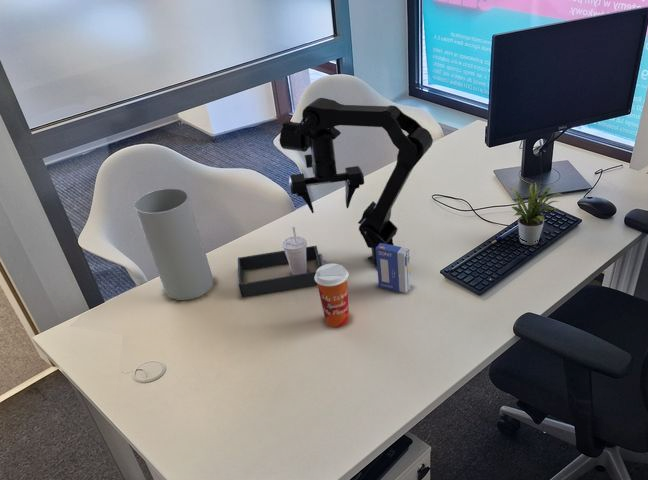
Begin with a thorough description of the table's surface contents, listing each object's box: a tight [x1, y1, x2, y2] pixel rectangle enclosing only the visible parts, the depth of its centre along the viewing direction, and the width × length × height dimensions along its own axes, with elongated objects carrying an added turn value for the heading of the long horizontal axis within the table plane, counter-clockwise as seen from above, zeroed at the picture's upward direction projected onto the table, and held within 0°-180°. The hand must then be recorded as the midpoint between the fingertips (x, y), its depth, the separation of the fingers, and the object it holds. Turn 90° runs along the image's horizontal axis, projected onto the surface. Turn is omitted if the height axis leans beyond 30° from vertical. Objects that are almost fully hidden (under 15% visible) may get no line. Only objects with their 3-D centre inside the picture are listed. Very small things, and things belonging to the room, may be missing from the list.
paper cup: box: [314, 263, 350, 328], centre depth 144 cm, size 8×8×14 cm
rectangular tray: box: [237, 245, 326, 299], centre depth 162 cm, size 22×13×4 cm, turn 103°
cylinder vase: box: [133, 187, 215, 301], centre depth 153 cm, size 12×12×25 cm
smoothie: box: [281, 226, 308, 275], centre depth 159 cm, size 6×6×14 cm
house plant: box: [510, 182, 562, 246], centre depth 166 cm, size 14×14×16 cm
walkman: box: [376, 243, 412, 294], centre depth 153 cm, size 8×3×12 cm, turn 66°
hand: (330, 209), depth 163 cm, fingers open, 9 cm apart
